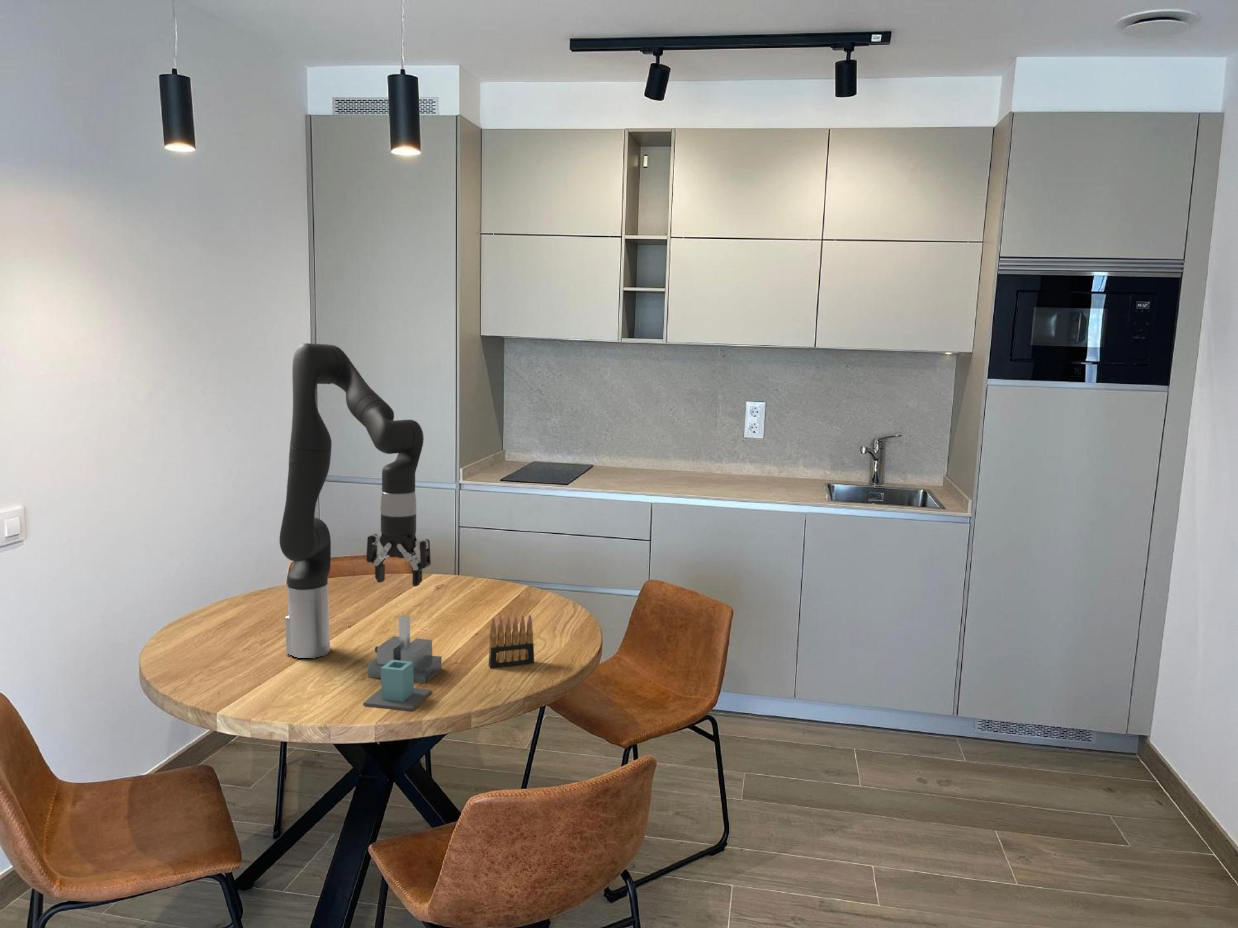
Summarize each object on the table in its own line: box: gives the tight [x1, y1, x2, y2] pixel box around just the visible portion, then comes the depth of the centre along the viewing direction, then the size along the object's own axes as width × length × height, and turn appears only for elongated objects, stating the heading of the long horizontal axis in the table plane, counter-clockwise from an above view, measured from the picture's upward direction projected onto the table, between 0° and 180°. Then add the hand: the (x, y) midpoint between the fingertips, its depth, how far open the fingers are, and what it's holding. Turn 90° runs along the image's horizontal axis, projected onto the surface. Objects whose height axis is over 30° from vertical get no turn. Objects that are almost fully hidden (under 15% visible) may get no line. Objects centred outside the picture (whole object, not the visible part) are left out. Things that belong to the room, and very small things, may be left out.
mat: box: [362, 687, 432, 712], centre depth 191 cm, size 11×10×1 cm
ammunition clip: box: [488, 614, 535, 669], centre depth 211 cm, size 11×2×12 cm, turn 110°
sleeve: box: [380, 660, 415, 702], centre depth 191 cm, size 5×5×7 cm
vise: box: [367, 614, 443, 684], centre depth 205 cm, size 14×9×14 cm, turn 78°
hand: (398, 583), depth 196 cm, fingers open, 8 cm apart
